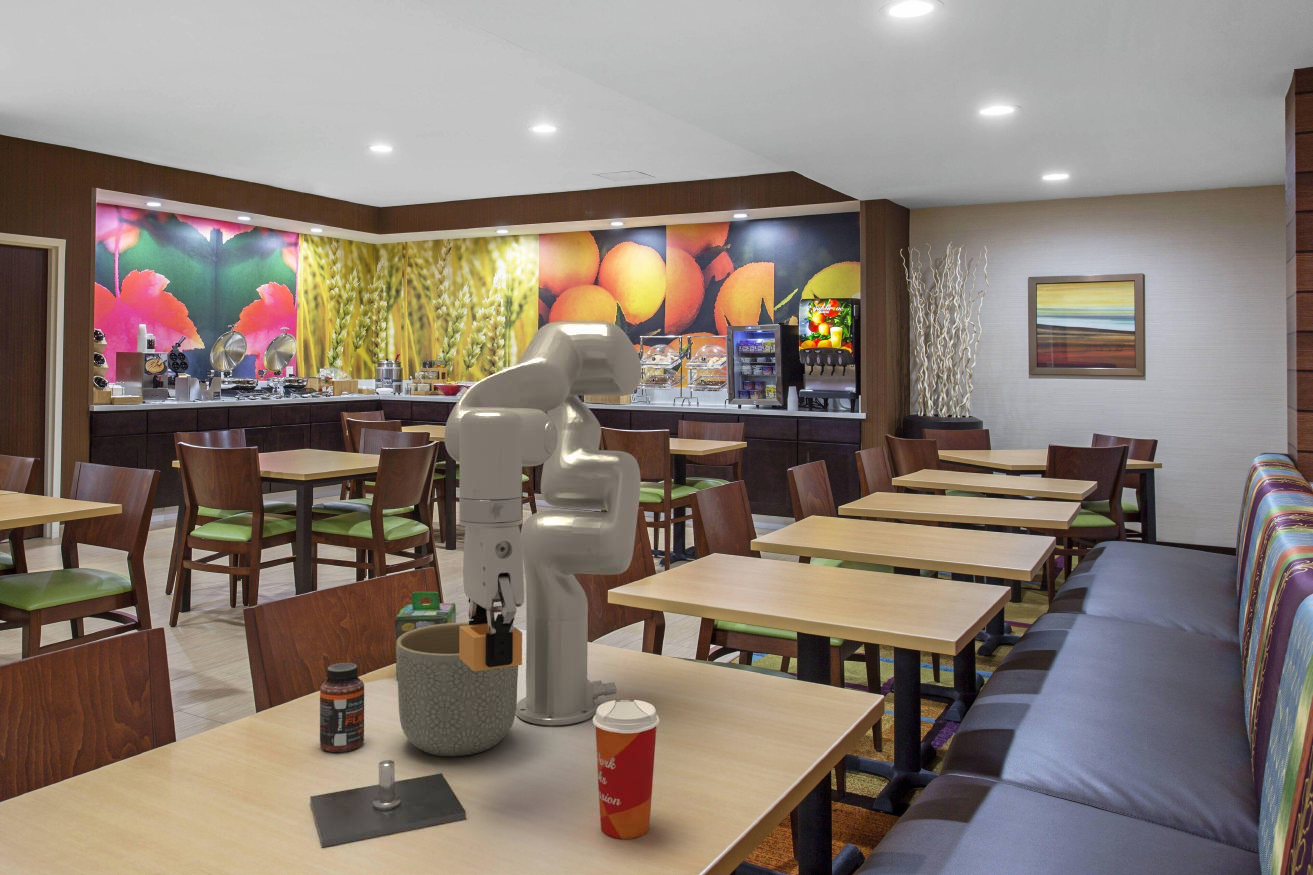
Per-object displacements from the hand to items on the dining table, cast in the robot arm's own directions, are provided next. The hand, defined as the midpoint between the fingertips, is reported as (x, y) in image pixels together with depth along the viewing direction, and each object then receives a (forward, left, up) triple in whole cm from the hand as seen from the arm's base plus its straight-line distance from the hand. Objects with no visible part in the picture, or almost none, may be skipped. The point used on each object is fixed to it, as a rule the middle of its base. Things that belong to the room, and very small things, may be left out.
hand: (490, 656), depth 113 cm
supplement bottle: (+14, -25, -18) cm, 34 cm away
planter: (-1, -19, -18) cm, 26 cm away
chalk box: (-4, -53, -18) cm, 56 cm away
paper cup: (-12, +14, -18) cm, 26 cm away
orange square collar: (0, 0, -1) cm, 1 cm away
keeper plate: (+12, -2, -18) cm, 22 cm away
